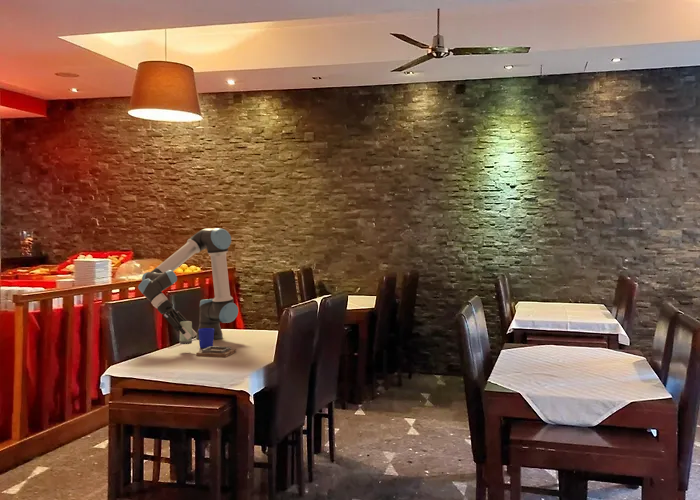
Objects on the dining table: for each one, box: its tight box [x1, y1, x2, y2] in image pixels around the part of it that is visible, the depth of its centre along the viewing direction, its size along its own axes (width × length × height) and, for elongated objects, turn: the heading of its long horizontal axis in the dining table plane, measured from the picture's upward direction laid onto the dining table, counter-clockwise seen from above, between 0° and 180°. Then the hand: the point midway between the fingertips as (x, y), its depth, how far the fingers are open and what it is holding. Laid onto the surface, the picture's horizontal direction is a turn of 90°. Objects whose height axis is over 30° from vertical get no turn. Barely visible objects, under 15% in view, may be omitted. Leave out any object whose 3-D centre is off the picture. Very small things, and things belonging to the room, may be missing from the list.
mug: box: [198, 328, 214, 349], centre depth 327 cm, size 8×12×10 cm
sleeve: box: [179, 320, 193, 345], centre depth 311 cm, size 6×6×11 cm
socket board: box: [195, 345, 237, 358], centre depth 307 cm, size 15×15×3 cm
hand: (192, 336), depth 311 cm, fingers closed on sleeve, 6 cm apart
